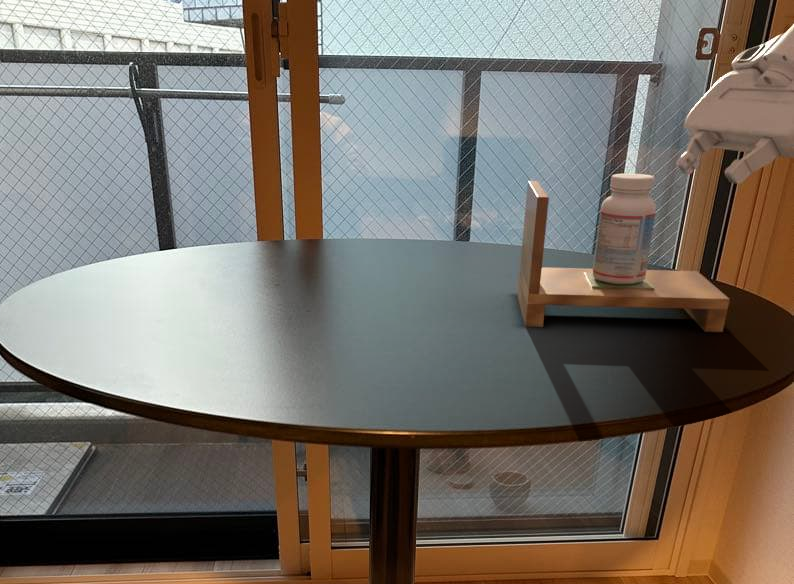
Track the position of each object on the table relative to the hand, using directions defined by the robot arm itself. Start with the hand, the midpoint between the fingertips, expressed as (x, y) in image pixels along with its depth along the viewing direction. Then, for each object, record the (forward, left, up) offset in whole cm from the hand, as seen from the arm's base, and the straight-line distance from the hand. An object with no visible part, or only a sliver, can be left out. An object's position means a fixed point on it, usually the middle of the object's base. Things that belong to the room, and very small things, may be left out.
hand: (705, 174), depth 91 cm
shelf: (+8, +3, -15) cm, 18 cm away
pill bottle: (+8, +2, -11) cm, 14 cm away
